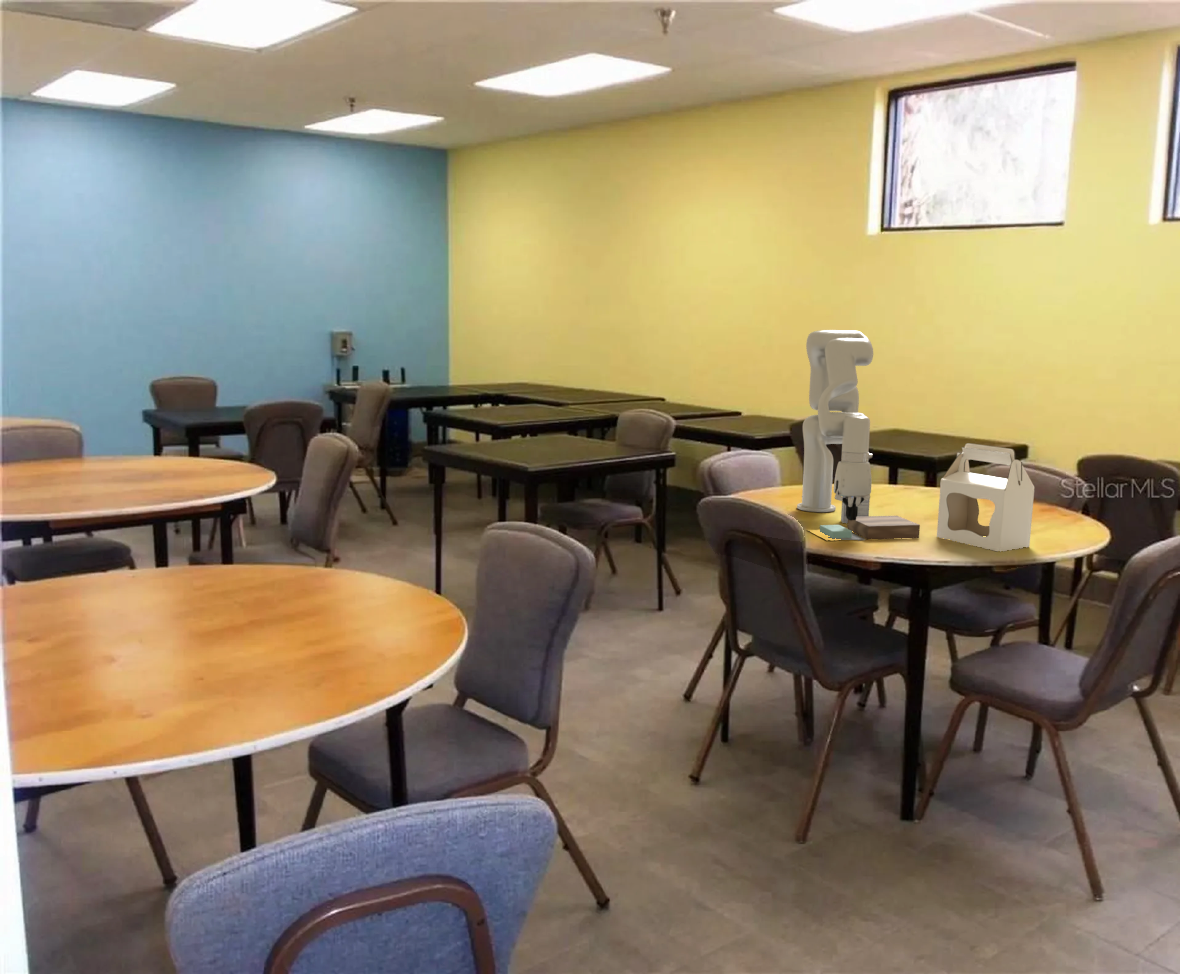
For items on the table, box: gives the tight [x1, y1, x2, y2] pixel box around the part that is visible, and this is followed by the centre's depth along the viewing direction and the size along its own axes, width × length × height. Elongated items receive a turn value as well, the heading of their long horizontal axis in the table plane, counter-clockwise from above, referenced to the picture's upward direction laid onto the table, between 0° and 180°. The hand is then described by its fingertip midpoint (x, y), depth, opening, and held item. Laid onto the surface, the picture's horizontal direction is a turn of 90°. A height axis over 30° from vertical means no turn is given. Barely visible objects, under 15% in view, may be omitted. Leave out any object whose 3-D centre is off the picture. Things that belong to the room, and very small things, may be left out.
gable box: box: [936, 442, 1035, 553], centre depth 293 cm, size 22×13×28 cm, turn 32°
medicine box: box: [840, 496, 871, 525], centre depth 320 cm, size 8×4×9 cm, turn 84°
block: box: [819, 524, 853, 538], centre depth 301 cm, size 9×6×2 cm, turn 11°
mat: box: [828, 532, 867, 541], centre depth 302 cm, size 15×12×1 cm
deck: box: [846, 515, 921, 540], centre depth 304 cm, size 14×16×4 cm
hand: (851, 519), depth 302 cm, fingers closed
